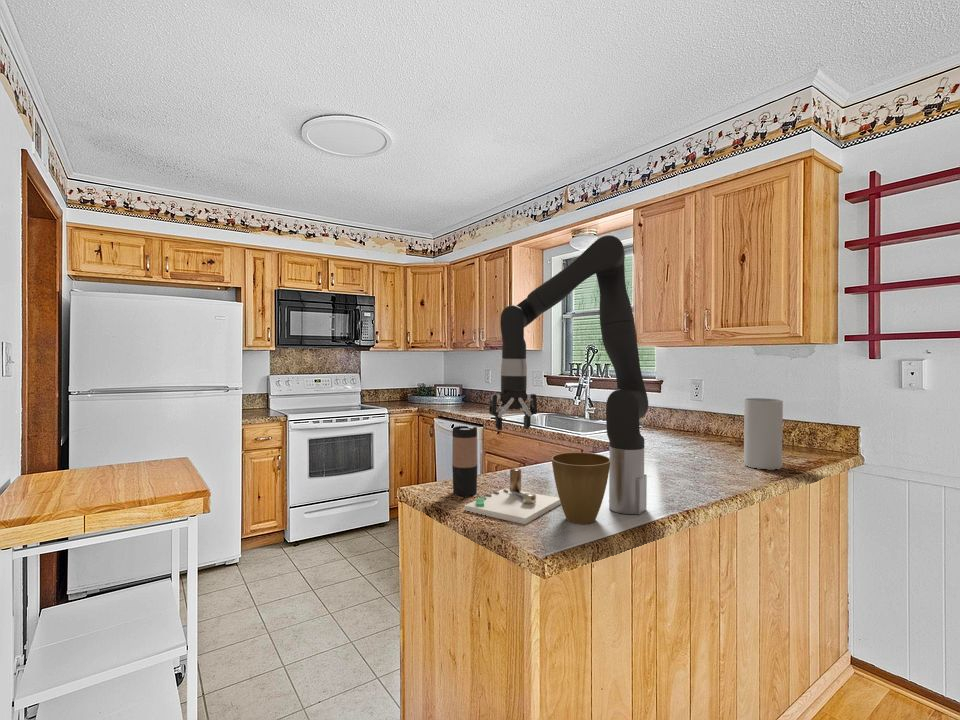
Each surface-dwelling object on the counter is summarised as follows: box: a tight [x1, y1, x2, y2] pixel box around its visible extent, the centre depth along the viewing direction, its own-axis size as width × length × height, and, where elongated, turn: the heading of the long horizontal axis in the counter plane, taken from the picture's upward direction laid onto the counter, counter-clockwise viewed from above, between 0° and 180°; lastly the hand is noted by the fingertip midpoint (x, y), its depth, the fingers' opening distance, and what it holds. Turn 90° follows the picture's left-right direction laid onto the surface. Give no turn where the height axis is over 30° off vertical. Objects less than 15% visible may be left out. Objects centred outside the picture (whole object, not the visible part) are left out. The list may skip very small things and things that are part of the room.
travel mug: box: [451, 425, 478, 497], centre depth 157 cm, size 8×8×20 cm
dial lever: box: [509, 467, 536, 504], centre depth 146 cm, size 14×4×7 cm, turn 21°
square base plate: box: [463, 487, 561, 525], centre depth 144 cm, size 20×21×2 cm
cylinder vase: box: [743, 397, 784, 471], centre depth 192 cm, size 12×12×25 cm
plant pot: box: [551, 451, 611, 525], centre depth 133 cm, size 15×15×16 cm
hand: (513, 429), depth 151 cm, fingers open, 8 cm apart
